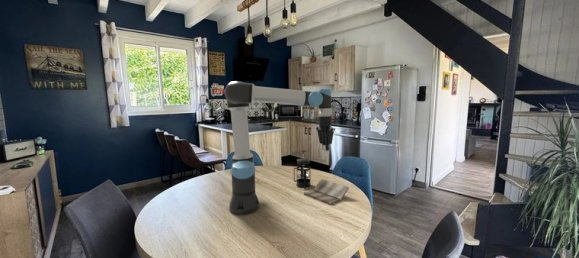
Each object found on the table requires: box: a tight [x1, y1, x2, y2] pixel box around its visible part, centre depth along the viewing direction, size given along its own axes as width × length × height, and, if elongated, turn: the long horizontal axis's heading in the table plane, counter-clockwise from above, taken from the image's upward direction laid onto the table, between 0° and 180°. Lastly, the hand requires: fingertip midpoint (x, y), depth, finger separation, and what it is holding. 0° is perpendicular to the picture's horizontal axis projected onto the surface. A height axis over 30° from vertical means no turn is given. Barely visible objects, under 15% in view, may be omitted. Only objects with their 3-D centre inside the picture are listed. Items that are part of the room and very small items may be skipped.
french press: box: [293, 149, 312, 189], centre depth 157 cm, size 12×9×23 cm
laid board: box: [303, 188, 341, 206], centre depth 137 cm, size 20×8×2 cm, turn 40°
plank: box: [313, 178, 350, 202], centre depth 142 cm, size 20×9×1 cm
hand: (325, 155), depth 143 cm, fingers closed
